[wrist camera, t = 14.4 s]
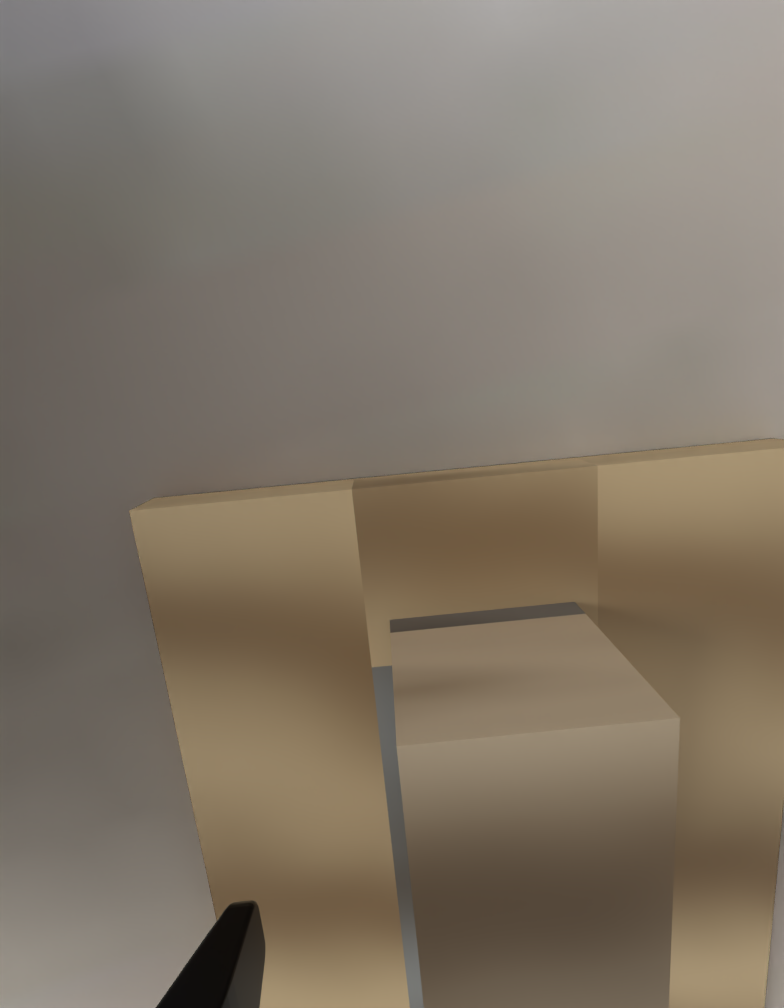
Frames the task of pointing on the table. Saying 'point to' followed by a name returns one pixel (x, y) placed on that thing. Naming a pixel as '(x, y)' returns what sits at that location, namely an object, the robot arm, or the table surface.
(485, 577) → the board
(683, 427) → the table surface
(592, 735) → the block
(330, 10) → the table surface
